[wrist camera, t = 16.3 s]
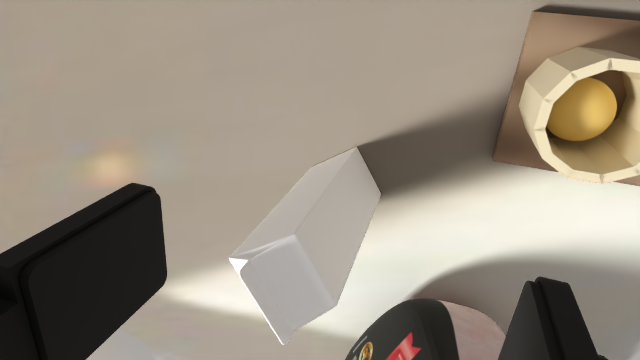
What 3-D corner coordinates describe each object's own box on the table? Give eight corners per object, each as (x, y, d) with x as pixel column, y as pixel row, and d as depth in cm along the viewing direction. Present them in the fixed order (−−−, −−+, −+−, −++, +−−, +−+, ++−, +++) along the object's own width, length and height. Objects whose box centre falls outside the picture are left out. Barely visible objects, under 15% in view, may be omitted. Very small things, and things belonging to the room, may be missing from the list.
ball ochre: (552, 66, 34) (555, 81, 30) (621, 75, 32) (634, 93, 28) (533, 122, 37) (534, 143, 33) (597, 133, 35) (606, 157, 31)
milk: (357, 145, 43) (277, 257, 24) (382, 194, 44) (326, 339, 25) (309, 167, 46) (202, 283, 26) (334, 212, 47) (249, 356, 28)
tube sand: (536, 42, 34) (557, 52, 27) (653, 54, 32) (709, 68, 25) (509, 139, 37) (521, 170, 30) (612, 155, 35) (651, 192, 28)
